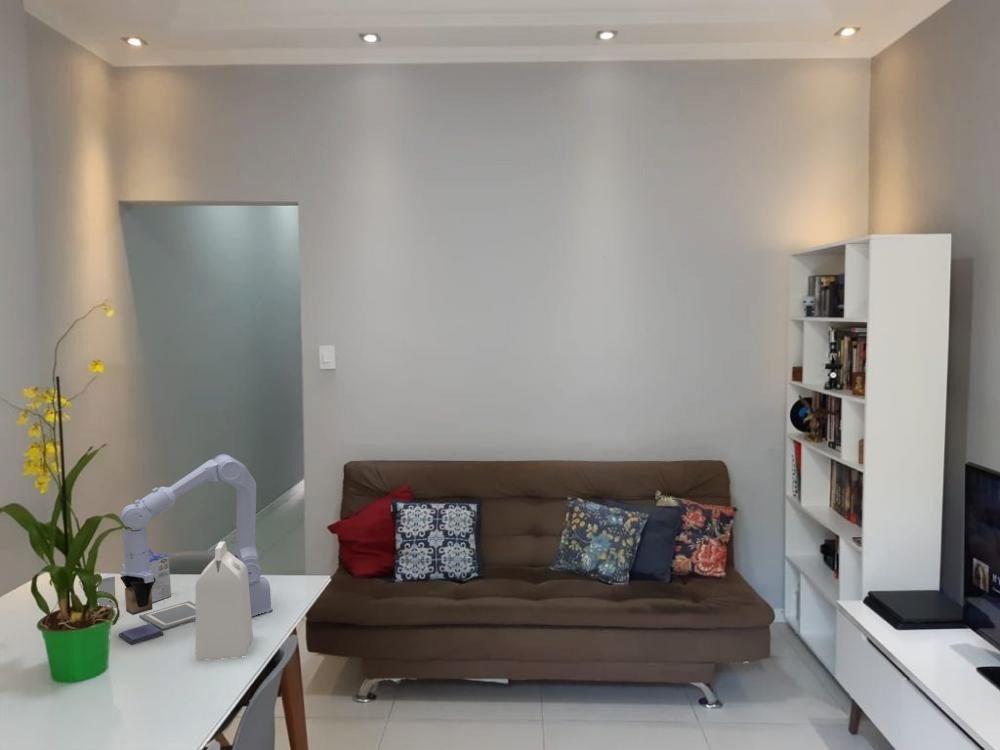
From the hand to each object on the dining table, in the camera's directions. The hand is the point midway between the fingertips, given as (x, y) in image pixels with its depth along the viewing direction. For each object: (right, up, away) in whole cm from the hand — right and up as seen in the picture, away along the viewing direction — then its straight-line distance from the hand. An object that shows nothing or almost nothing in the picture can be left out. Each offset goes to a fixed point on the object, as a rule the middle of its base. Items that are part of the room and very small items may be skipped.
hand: (139, 604), depth 202 cm
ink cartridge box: (-9, -7, +26) cm, 29 cm away
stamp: (0, -2, 0) cm, 2 cm away
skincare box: (-15, -8, +12) cm, 21 cm away
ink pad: (0, -8, +1) cm, 8 cm away
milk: (+25, -9, -8) cm, 27 cm away
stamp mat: (+4, -7, +13) cm, 16 cm away
